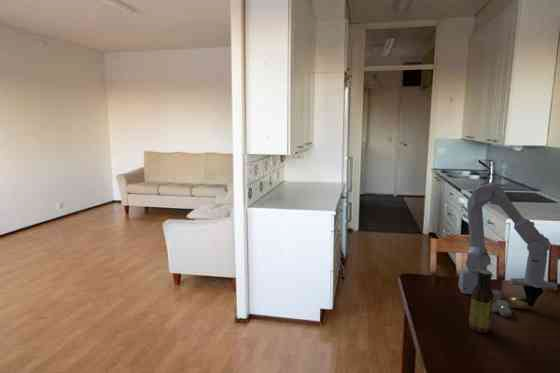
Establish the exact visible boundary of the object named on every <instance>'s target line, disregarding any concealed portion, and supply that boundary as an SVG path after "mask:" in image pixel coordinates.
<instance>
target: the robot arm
mask: <svg viewBox="0 0 560 373" xmlns="http://www.w3.org/2000/svg"><path fill="white" fill-rule="evenodd" d="M466 202H467V203H466V208H467V209H466V210H467V221H468V224H467V225H468V238H469V249H468V251H467V253H466V254H467V257H466V260H465V266H466V267H465V268H464V267H463V268H460V269H459V270H460V271H459V276H458V284H457V285H458V288H459V290H460V291H461V293H462V294H467V295H468V294H469V295H472V292H473V288H474V287H475V286H476V285H477V284H478V283H477V281H478V270H487V271H488V269H487V267H488V266H489V265H490V264H491V263H492V262H491V256H490V255H489V253H488V249H487V247H486V245H485V244H486V243H485V231H484V230H485V229H484V213H483V211H484V210H483V207H484V206H485V205H486V204H488V203H489V204H492V205H495V206H498V207H500V208H501V210H502V211H503V213H504V214H506V215H507V217H508V218H509V219H510V220H511V221H512V222H513V224H514V225H513V229H514V230H515V231H516V232H517V234H518V235H519V237H520V238H521V239H522V240H523V241H524V243H525V244H527V245H526V249H527V251H528V256H527V260H526V267H525V272H524V277H523V278H522V277H521V278H519V277H518V278H517V277H516V278H515V277H514V278H513V277H512V278H510V280H509V284H510V285H511V286H522V287H523V290H524V293H525V298H526V299H527V301H528V307H534V306H535V304H536V301H537V300H538V299H539V297H540V296H542V294H544V289H551V290H553V291H557V289H558V284H557V283H556V282H553V281H552V282H551V281H547V280H545V273H546V268H547V262H548V259H547V258H548V254H549V253H548V251H549V250H551V246H552V243H551V241H550V239H549V238H547V237H546V236H545V235H544V234H543V233H540V231H539V230H538V229H537V228H536V226H535V225H536V224H535V222H534V221H530V219H528V218H524V217H523V216H522V214H521V213H520V212H519V210H518V209H517V207H516V206H515V205H514V204H513V202H512V201H511V199H510V198H509V197H508V195H507V194H506V191H505V190H503V188H501V186H500V185H499V184H498V183H496V182H488V183H485V184H481V185H479V186H476V187H475V188H474V189H473V190H472V193H471V195H470V197H469V198H468V201H466Z"/></svg>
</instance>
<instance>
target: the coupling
mask: <svg viewBox="0 0 560 373" xmlns="http://www.w3.org/2000/svg"><path fill="white" fill-rule="evenodd" d="M508 304H509V308H510V309H511V308H512V309H521V310H528V307H529V305H528V301H527V298H526V297H520V296H509V297H508Z"/></svg>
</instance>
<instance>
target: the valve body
mask: <svg viewBox="0 0 560 373" xmlns="http://www.w3.org/2000/svg"><path fill="white" fill-rule="evenodd" d="M492 293H493V306H492V313H499V314H500V315H501V317H502V318H509V317H511V316H512V313H513V311H512V310H511V307H510V306H509V301H507V300H503V299H502V292H501V291H500V290H496V289H492Z"/></svg>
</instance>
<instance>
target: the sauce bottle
mask: <svg viewBox="0 0 560 373" xmlns="http://www.w3.org/2000/svg"><path fill="white" fill-rule="evenodd" d="M492 277H493V273H492V272H491V271H489V270H488V269H487V270H478V281H477V283H478V284H477V285H476V286H475V287H474V288H473V292H472V294H471V299H470V301H471V302H470V310H469V320H468V322H469V323H468V326H469V328H470V329H471V330H473V331H474V332H477V333H482V334H486V333H488V332H489V331H490V328H491V323H492V315H493V314H492V313H493V312H492V306H493V293H492V290H493V288H492V286H491V284H492V283H491V280H492Z"/></svg>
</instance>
